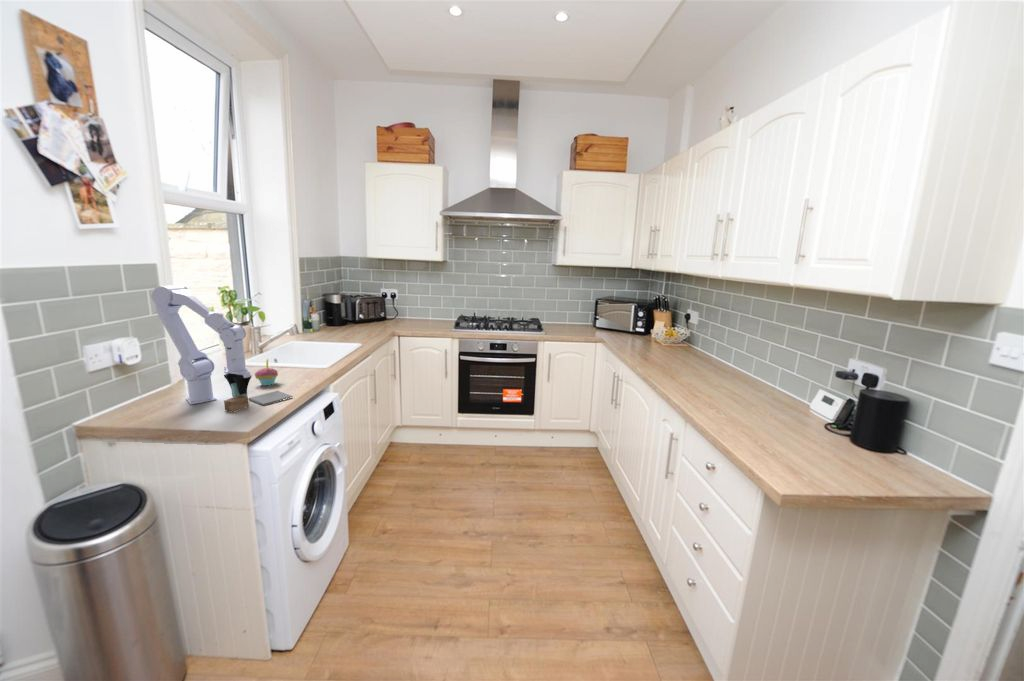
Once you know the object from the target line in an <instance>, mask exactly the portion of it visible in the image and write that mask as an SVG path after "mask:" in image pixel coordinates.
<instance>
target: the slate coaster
mask: <svg viewBox="0 0 1024 681" xmlns="http://www.w3.org/2000/svg"><path fill="white" fill-rule="evenodd" d="M290 397H293V395H291V394H289V393H284V392H282V391H279V390H275V391H271V392H267V393H262V394H259V395H255V396H252V397H251V396H250V397H248V401H250V400H251V401H250V402H253V401H254V402H253V403H255V402H256V403H255V404H257V403H258V405H260V404H261V405H260V406H262V405H265V406H268V405H267V404H269V405H272V404H275V403H274V402H276V403H278V402H277V401H280V400H283V399H286V398H290ZM280 402H281V401H280ZM271 403H272V404H271Z"/></svg>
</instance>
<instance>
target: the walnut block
mask: <svg viewBox="0 0 1024 681" xmlns="http://www.w3.org/2000/svg"><path fill="white" fill-rule="evenodd" d="M223 403H224V404H223V405H224V411H225V410H227V411H226V412H229V411H232V412H231V413H235V412H234V411H236V410H238V411H240V410H239V409H241V410H243V409H242V408H244V409H246V408H245V407H247V408H249V407H250V405H249V397H248V396H247V397H246V396H240V395H239V396H236V397H233V396H232V397H231V398H228V399H227V398H226V399H225V400H223ZM248 406H249V407H248ZM236 412H237V411H236Z"/></svg>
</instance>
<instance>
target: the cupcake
mask: <svg viewBox="0 0 1024 681" xmlns="http://www.w3.org/2000/svg"><path fill="white" fill-rule="evenodd" d="M265 363H266V364H265V365H266V367H265V368H260V369H258V371H256V372H255V373H254V377H255V378H256V379H257V380H258V381H259V382H260V385H261V386H262V385H269V386H272V385H271V384H273V385H274V384H275V381H276V379H277V377H278V375H279V373H278V371H277V369H275V368H273V367H271V368H269V358H266V362H265Z"/></svg>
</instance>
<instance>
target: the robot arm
mask: <svg viewBox="0 0 1024 681" xmlns="http://www.w3.org/2000/svg"><path fill="white" fill-rule="evenodd" d="M150 297H151V299H152V301H153V303H154V304H155V309H156V313H157V315H158V318H159V319H160V321H161V322H162V324H163V326H164V328H165V330H166V331H167V333H168V335H169V337H170V339H171V340H172V342H173V344H174V346H175V348H176V349H177V351H178V353H179V355H180V359H179V360H178V361H177V365H178V366H179V373H180V375H181V376H182V378H184V379H185V381H186V384H187V392H188V396H186V397H185V400H187V402H188V403H189V405H195V404H201V403H207V402H212V401H216V400H217V397H216V396H215V395H214V393H213V384H212V383H213V382H212V372H213V371H214V370H215V364H214V361H213V360H212V359H210V358H209V357H208V354H206V353H205V352H202V351H200V350H199V349H198V347H197V345H196V343H195V341H194V340H193V338H192V336H191V334H190V332H189V331H188V328H187V326H186V325H185V323H184V322H183V320H182V318H181V316H180V314H179V310H180V308H182V307H183V306H185V307H187V308H188V309H190V310H191V311H193V312H195V313H196V314H197V315H199V316H200V317H202V318H204V319H203V320H204V323H205V325H207V326H208V327H209V328H211V329H212V330H213V331H215V332H216V333H217V334H218V335H219V339H220V341H222V343H223V346H224V350H225V358H226V359H225V361H226V366H225V367H224V372H223V373H224V374H223V377H224V378H225V380H226V381H227V383H228V385H229V386H230V388H231V384H232V383H236V384H237V387H238V391H239V394H240V395H242V394H246V393H247V394H248V387H249V383H250V381H251V379H252V375H251V371H249V370H248V368H247V367H246V366H247V365H246V358H245V347H244V339H245V338H246V335H247V332H246V330H245V328H244V327H243V326H242V325H241V324H235V323H234V322H232V321H230V320H229V319H228V318H226V317H225V316H224V314H223V312H218V311H212V310H211V308H209V307H208V306H206V305H205V304H204V303H203V302H202V301H201V300H200V299H199V298H198V297H196V296H195V295H194V293H193V290H191V289H190V288H188V286H186V285H184V284H174V285H158V286H155V288H154V289H153V290H152V293H151V295H150Z"/></svg>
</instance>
